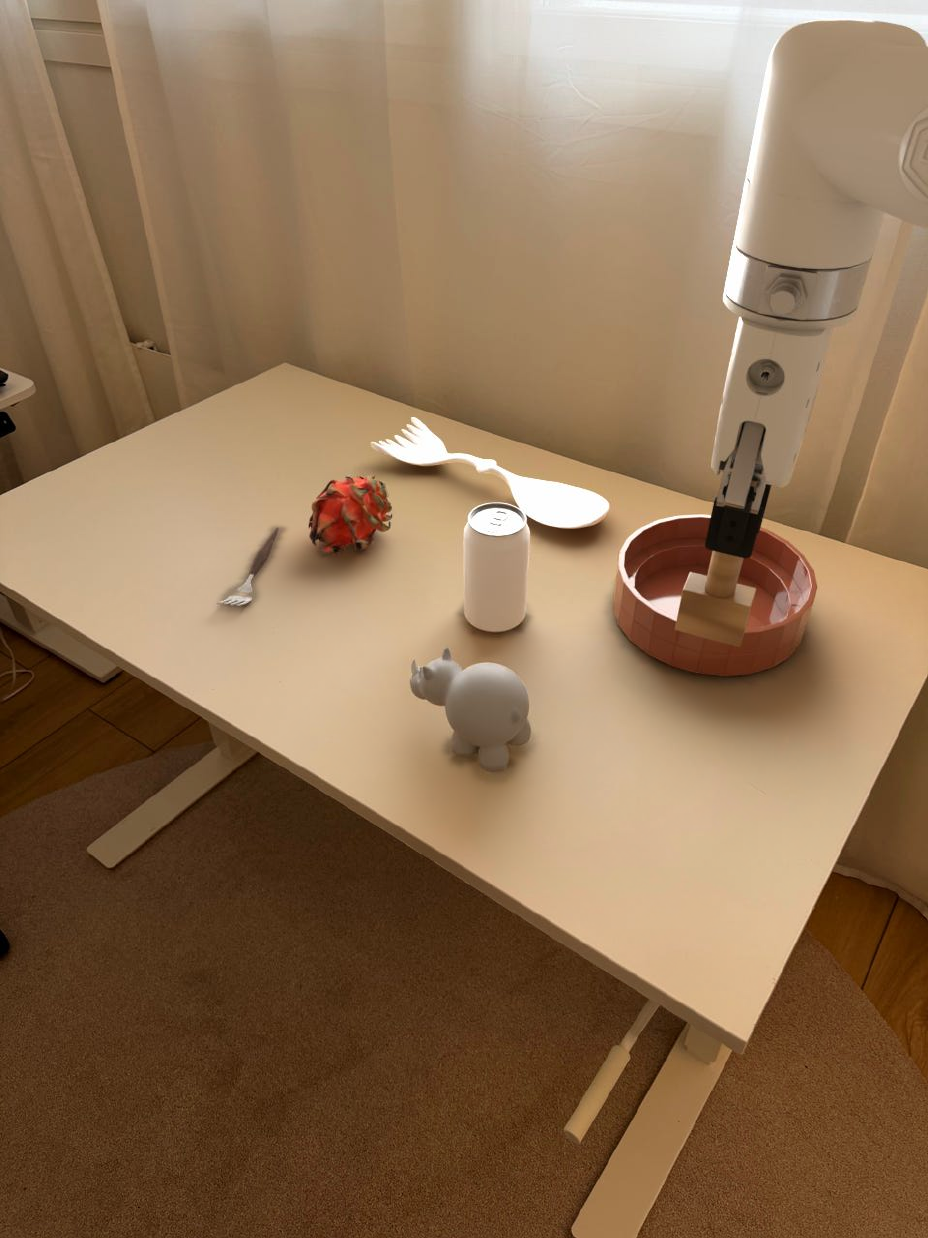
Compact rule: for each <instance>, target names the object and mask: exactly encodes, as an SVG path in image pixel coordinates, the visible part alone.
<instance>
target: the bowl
mask: <svg viewBox="0 0 928 1238" xmlns="http://www.w3.org/2000/svg"><path fill="white" fill-rule="evenodd" d="M710 518H711V514H702V513H700V514H699V513H698V514H683V515H674V516H670V517H665V518H660V519H656V520H654V521H652V522H650V523H648V524H646V525H644V526H641V527H639V528H637V530H635V531H634V532H633V533H631V535H629V536H628V537H627V538H626V540H625V541H624V543H623V545H622V546H621V549H620V550H619V553H618V559H617V565H616V566H617V567H616V573H615V580H614V589H613V598H612V610H613V614H614V616H615V619H616V622H617V625H618V626H619V628H620V629H621V631H622V632H623V633H624V634H625V636H626V637H627V639H629V641H630V642H631V643H632V644H634V645H635V646H637V648H639V649H640V650H642V651H643V652H644V653H645V654H646V655H648V656H650V657H652V658H654V659H657V660H659V661H661V662H663V663H665V664H666V665H668V666H671V667H674V668H677V669H682V670H683V671H688V672H691V673H694V674H700V675H710V676H717V677H718V676H719V677H731V676H747V675H748V676H749V675H752V674H756V673H759V672H762V671H766V670H770V669H772V668H774V667H776V666H777V665H779V664H781V663H783V662H784V661H786V660H787V659H789V658H790V657H791V656H792V654H793V653H794V652H795V651H796V649H797V648H798V647H799V645H800V644H801V642H802V639H803V635H804V632H805V630H806V627H807V623H808V621H809V617H810V615H811V611H812V609H813V605H814V602H815V598H816V594H817V591H818V584H817V583H818V582H817V578H816V573H815V569H814V568H813V567H812V565H811V564H810V562H809V561H808V559H807V557H806V556H805V555H804V554H803V553H802V552H801V551H800V550H799V549H798V548H797V547H796V546H794V545H793V544H792V543H791V541H789V540H787V539H785V538H783V537H781V536H780V535H778V534H777V533H775V532H774V531H771V530H769V529H767V528H764V527H762V526H761V527H760V530H759V533H758V534H757V536H756V540H755V544H754V548H753V552H752V555H751V557H750V558H743V562H742V566H741V570H740V574H739V578H738V582H737V584H741V585H745V586H749V587H753V588H756V593H755V597H754V600H753V604H752V608H751V611H750V615H749V618H748V622H747V626H746V629H745V633H744V636H743V639H742V642H741V646H740V647H737V646H733V645H729V644H726V643H722V642H718V641H715V640H711V639H707V638H704V637H700V636H696V635H692V634H689V633H685V632H681V631H678V630H675V625H676V620H677V615H678V611H679V606H680V601H681V596H682V591H683V588H684V586H685V583H686V581H687V578H688V576H689V573H690V572H692V573H696V574H700V575H705V576H707V574H708V569H709V565H710V560H711V556H712V552H713V551H712V550H708V549H707V548H706V547H705V542H706V537H707V532H708V528H709V523H710Z"/></svg>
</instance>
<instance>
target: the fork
mask: <svg viewBox="0 0 928 1238" xmlns="http://www.w3.org/2000/svg"><path fill="white" fill-rule="evenodd" d="M278 532H279V527H276V528H275V530H273V532H272V533H271V534H270V536H269V538H268V539H267V540H266V542H265V543H264V545H263V546H262V547H261V549H259V552H258V553H257V555H256V557H255V559H254V562H253V564H252V567H251V569H250V572H249V575H248V578H247V579H246V581H244V583H243V584H242V585H240V587H237V589H236V591H237V592H240V593H253V587H252V583H251V582H252V580H253V578H254V577H255V576H256V574H257V573H258V572H259V570H260V569H261V568H262V567H263V566H264V564H265V563H266V561H267V560H268V558H269V555H270V553H271V550H272V547H273V544H274V542H275V540H276V537H277V534H278ZM252 600H253V597H251V596H243V595H242V596H241V595H229V596H228V597H227V598H226V599H224V600H221V601H217V602H216V605H221V604H223V606H226V605H229V606H236V607H240V606H244V605H246V604H248V603H250V602H252Z"/></svg>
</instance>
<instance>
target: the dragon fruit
mask: <svg viewBox="0 0 928 1238" xmlns="http://www.w3.org/2000/svg"><path fill="white" fill-rule="evenodd" d="M344 478H345V480H341V481H338V480H335V479H331V480H330V481H328V483H327V484H326V486H325V487H324V488H323V489H322V491H321V492H320V493H319V494H318V495H317V497H316V498H315V499H314V500H313V502H312V503H311V511H312V513H311V515H310V517H309V519H308V529H310V532H309V536H308V537H309V539H310V540H311V542H312V544H313V546H314V547H317V546H318V545H317V541H318V542H319V543H322V544H325V545H324V546H323V547H321V551H322V553H324V554H339V553H342V552H343V551H345V550H346V547H345V546H348V545H351V547H352V548H353V549H355V550H358V551H361V550H365V549H367V548H369V547H371V546H372V545H373V543H374V541H375V538H374V536H375V533H376V531H378V532H380V533H384V532H387V531H389V530H391V527H392V523H391V521H390V520H392V519H393V513H391V511H392V510H393V507H392V504H391V502H390V501H389V500H388V498H389V497H390V493H389V490H388V488H387V484H386V482H382V481H381V480H379V479H378V480H376V479H375V478H376V475H375V476H374V475H367V476H366V477H363V476H361V475H357V476H356V477H353V475H352V474H348V473H347V474H346V475H345V477H344ZM388 513H391V514H390V515H389V514H388ZM384 522H385V523H384ZM386 522H388V525H387V524H386Z"/></svg>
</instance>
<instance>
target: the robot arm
mask: <svg viewBox="0 0 928 1238" xmlns="http://www.w3.org/2000/svg"><path fill="white" fill-rule="evenodd" d="M744 179H745V180H744V184H743V189H742V191H743V192H742V195H741V202H740V206H739V213H738V217H737V218H738V219H737V223H736V227H735V233H734V240H733V244H732V248H731V255H730V260H729V264H728V269H727V274H726V275H727V276H726V280H725V285H724V289H723V294H722V302H723V303H724V306H725V307H726V308H727V309H728V310H729V311H730V312H731V313H733V314H734V315H736V316H737V317H738V321H737V326H736V331H735V334H734V338H733V344H732V348H731V353H730V357H729V361H728V362H729V363H728V368H727V371H726V372H727V373H726V376H725V377H726V378H725V382H724V387H723V392H722V398H721V402H720V409H719V413H718V419H717V425H716V430H715V437H714V443H713V449H712V455H711V463H710V467H711V469H712V471H713V472H714V473H715V474H716V475H717V476H719V475H720V473H722V475H721V479H720V484H719V489H718V494H717V496H716V497H715V498H714V501H713V505H712V509H711V514H710V515H711V518H710V523H709V528H708V532H707V537H706V542H705V547H706V548H707V549H708V550H712V551H716V552H720V553H724V554H728V555H733V556H737V557H741V558H750V557H751V555H752V552H753V548H754V544H755V540H756V536H757V534H758V533H759V530H760V527H762V523H763V520H764V516H765V511H766V508H767V505H768V504H767V503H768V500H769V498H770V497H769V496H770V492H771V488H772V486H776V489H782V488H784V487H786V486H788V485H789V484H790V482H791V481H792V478H793V474H794V471H795V468H796V466H797V465H796V464H797V462H798V458H799V455H800V453H801V448H802V445H803V442H804V438H805V437H806V436H805V435H806V432H807V429H808V425H809V421H810V417H811V415H812V411H813V407H814V404H815V401H816V398H817V397H816V396H817V393H818V390H819V385H820V382H821V379H822V376H823V372H824V368H825V364H826V360H827V356H828V352H829V348H830V344H831V339H832V335H833V330H834V328H838V327H842V326H843V325H844V326H845V325H846V324H848V323H850V322H851V321H852V320H853V319H854V318H856V314H857V311H858V307H859V304H860V301H861V297H862V294H863V292H864V291H863V290H864V287H865V284H866V280H867V278H868V274H869V270H870V266H871V263H872V260H873V256H874V252H875V250H876V246H877V242H878V239H879V236H880V233H881V229H882V225H883V221H884V218H885V216H886V214H887V215H890V216H892V217H894V218H897V219H898V220H901V221H903V222H906V223H909V224H911V225H914V226H917V227H920V228H923V229H926V230H928V45H927V43H926V40H925V38H924V37H923V36H922V34H920V33H919V32H918V31H916V30H915V29H912V28H911V27H908V26H907V25H902V24H897V23H892V22H887V21H881V20H874V19H873V20H872V19H858V18H857V19H856V18H828V19H817V20H816V19H815V20H809V21H804V22H801V23H799V24H796V25H793V26H790V27H789V28H788V29H787V30H785V31H784V32H783V33H782V34H781V35H780V36H779V38H778V39H777V40H776V41H775V43H774V45H773V47H772V49H771V52H770V54H769V57H768V60H767V66H766V70H765V75H764V79H763V85H762V91H761V95H760V101H759V105H758V110H757V116H756V121H755V126H754V131H753V137H752V143H751V148H750V153H749V159H748V164H747V170H746V175H745V178H744ZM751 480H753V481H757V485H756V489H754V488H755V487H752V486H750V484H751Z"/></svg>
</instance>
